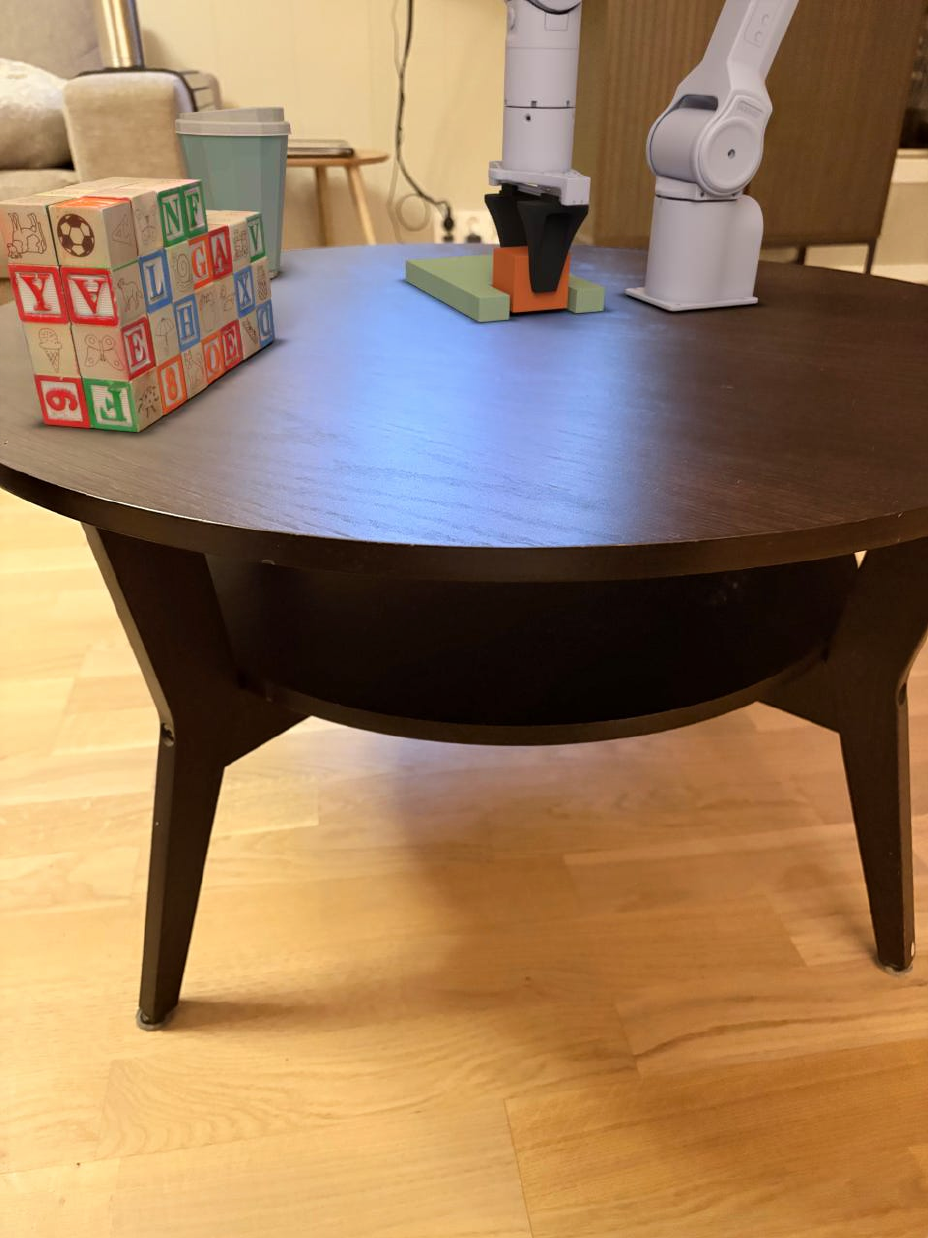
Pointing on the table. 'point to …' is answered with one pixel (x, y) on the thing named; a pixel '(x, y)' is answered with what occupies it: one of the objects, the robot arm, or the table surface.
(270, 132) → the disposable coffee cup
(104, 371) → the stack of blocks
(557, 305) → the orange cube
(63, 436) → the table surface
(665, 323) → the table surface
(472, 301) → the base pad
